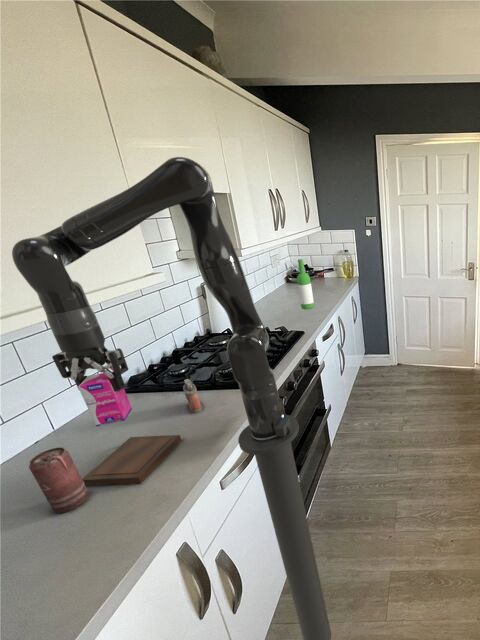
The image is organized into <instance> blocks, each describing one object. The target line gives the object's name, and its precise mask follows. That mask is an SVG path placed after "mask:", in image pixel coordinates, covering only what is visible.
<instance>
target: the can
mask: <svg viewBox="0 0 480 640" xmlns="http://www.w3.org/2000/svg"><path fill="white" fill-rule="evenodd" d="M28 463H29V465H28V469H29V471H30V472H31V474H32V476H33V478H34V479H35V481H36V483H37V485H38V486H39V488H40V490H41V491H42V494H43V495H44V497H45V499H46V501H47V502H48V504H49V505H50V508H51V509H52V512H54V513H57V514H64V513H68V512H70V511H74V510H75V509H77V508H79V507H80V506H82V505H84V503H85V502H87V500H88V498H89V495H90V492H89V490H88V487H87V486H85V484H84V482H83V480H82V479H83V477H82V476H81V474H80V472H79V470H78V468H77V466H76V464H75V462H74V460H73V457H72V456H71V454H70V452H69V451H68V450H67V449H65V448H64V447H54V448H50V449H48V450H45V451H42V452H40V453H39V454H37V455H35V456H34V457H32V458H31V459H30V461H29V462H28Z"/></svg>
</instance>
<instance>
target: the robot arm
mask: <svg viewBox="0 0 480 640" xmlns="http://www.w3.org/2000/svg"><path fill="white" fill-rule="evenodd" d="M178 205H179V207H180V209H181V211H182V214H183V216H184V217H185V221H186V223H187V226H188V229H189V234H190V240H191V245H192V250H193V256H194V259H195V262H196V265H197V268H198V270H199V273H200V276H201V278H202V280H203V283H204V285H205V287H206V288H207V290H208V291H209V293H210V294H211V295H212V297H213V298H214V299H215V300H216V302H217V303H218V304H219V305H220V307H222V309H223V310H224V311H225V314H226V315H227V319H228V320H229V323H230V327H231V330H232V336H231V338H230V339H229V341H228V343H227V346H226V355H227V360H228V362H229V366H230V368H231V372H232V375H233V379H234V380H235V381H236V382H237V383H238V387H239V390H240V395H241V399H242V402H243V406H244V410H245V414H246V418H247V422H248V425H249V426H250V429H251V435H252V438H253V439H254V440H256V441H261V442H263V441H269V440H272V439H275V438H277V437H281V436H286V435H288V434H290V433H291V428H290V426H291V424H290V420H289V418H286V415H287V414H286V410H285V404H284V399H283V398H280V395H279V391H278V387H277V381H276V377H275V372H274V370H273V368H272V367H270V364H269V360H268V357H267V351H268V348H269V345H270V336H269V334H268V331H267V329H266V327H265V326H264V323H263V321H262V320H261V317H260V316H259V313H258V311H257V309H256V307H255V303H254V300H253V297H252V293H251V290H250V287H249V285H248V281H247V278H246V275H245V272H244V269H243V266H242V263H241V260H240V258H239V256H238V253H237V250H236V248H235V246H234V244H233V241H232V239H231V237H230V235H229V233H228V231H227V229H226V227H225V225H224V222H223V220H222V218H221V214H220V211H219V207H218V204H217V199H216V196H215V191H214V186H213V181H212V178H211V176H210V173H209V172H208V171H207V170H206V169H205V167H204V166H202V165H201V164H200V163H198V162H197V161H195V160H194V159H191V158H188V157H185V156H174V157H170V158H168V159H167V160H166V161H164V162H162V164H161V165H159V166H158V167H157V168H155V170H153V171H152V172H150V173H149V174H148V175H147V176H145V177H144V178H143V179H141V180H140V181H138V182H137V183H135V184H133V185H132V186H130V187H129V188H127V189H126V190H123V191H122V192H120V193H118V194H116V195H114V196H111V197H109V198H107V199H105V200H102V201H100V202H98V203H96V204H94V205H93V206H91V207H88V208H86V209H84V210H82V211H80V212H78V213H76V214H75V215H73V216H71V217H69V218H67V219H65V221H63V222H62V224H61V225H60V226H58V227H56V228H54V229H52V230H49V231H47V232H45V233H43V234H41V235H40V234H39V235H38V236H33V237H32V236H31V237H28V238H23V239H21V240H18V241H17V242H16V243H15V244H14V245H13V246H12V248H11V258H12V261H13V263H14V266H15V267H16V270H17V271H18V272H19V273H20V275H21V276H22V277H23V279H24V280H25V281H26V282H27V284H28V285H29V286H30V288H32V290H33V291H34V292H35V293H36V295H37V296H38V300H39V302H40V304H41V307H42V308H43V311H44V313H45V316H46V319H47V323H48V326H49V327H50V330H51V332H52V334H53V337H54V339H55V341H56V343H57V345H58V347H59V349H60V352H57V353H56V354H53V355H52V361H53V362H54V364H55V366H56V368H57V370H58V373H59V374H60V376H61V377H62V379H67V378H69V379H70V380H72V381H74V383H75V385H76V387H77V389H78V390H79V388H78V386H79V385H80V384H81V383H82V382H83V381H84V380H85V379H86V377H87V376H88V375H86V372H87V370H89V369H90V370H96V371H98V372H99V373H100V374H101V373H104V374H106V375H107V376H108V377H109V380H110V383H111V385H112V387H113V390H114V391H115V392H116V391H120V390H121V389H123V388H124V389H125V385H126V383H125V381H124V379H123V376H122V375H123V374H125V373H126V372H128V370H129V367H128V363H127V361H126V358H125V355H124V352H123V350H122V348H116V349H112V350H111V349H108V348H107V347H106V346H105V342H106V338H105V336H104V333H103V331H102V328H101V325H100V323H99V321H98V318H97V315H96V314H95V312H94V310H93V308H92V307H91V305H90V303H89V300H88V298H87V294H86V293H85V290H84V287H83V286H82V284H81V283H80V282H78V281H76V280H73V279H72V278H71V276H70V274H69V272H68V271H67V268H66V267H67V266H69V265H71V264H73V263H74V262H76V261H78V260H80V259H81V258H82V257H83V258H84V256H85V255H87V254H88V253H90V252H92V251H94V250H96V249H98V248H102V247H103V246H106V245H107V244H108V243H111V242H112V241H114V240H116V239H118V238H120V237H122V236H123V235H125V234H127V233H128V232H130V231H132V230H133V229H134V228H136V227H137V226H139V225H140V224H142V223H143V222H145V221H146V220H147V219H148V218H150V217H152V216H154V215H156V214H158V213H160V212H162V211H165V210H167V209H169V208H171V207H174V206H178ZM105 364H106V365H105ZM112 371H114V372H112ZM287 431H288V432H287Z"/></svg>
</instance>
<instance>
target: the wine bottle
mask: <svg viewBox="0 0 480 640" xmlns="http://www.w3.org/2000/svg"><path fill="white" fill-rule="evenodd" d="M297 264H298V270H299V273H298V275H297V276H296V283H297V290H298V295H299V302H300V307H301V309H302V310H311V309H314V308H315V300H314V294H313V287H312V282H311V277H310V275H309V274H308V273H306V270H305V263H304V259H302V258H301V259H300V258H299V259H297Z"/></svg>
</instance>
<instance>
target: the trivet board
mask: <svg viewBox="0 0 480 640" xmlns="http://www.w3.org/2000/svg"><path fill="white" fill-rule="evenodd" d="M181 441H182V438H181V434H171V435H169V434H167V435H148V436H147V435H145V436H130V437H129V438H127V440H125V441H124V442H123V443H122V444H121V445H120V446H119V447H118V448H116V449H115V450H114V451H113V452H112V453H110V454H109V455H108V456H106V457H105V459H103V460H102V461H101V462H99V464H98V465H96V466H95V467H94V468H93V469H92V470H91V471H90V472H88V473H87V474H86V475H85V476H84V477H82V480H83V482H84V484H85V486H86V487H96V486H97V487H98V486H117V485H119V486H120V485H137V484H139V485H140V484H142V483H143V482H144V481H145V480H146V479H147V478H148V477H149V476H150V475H151V473H153V471H154V470H156V468H157V467H158V466H159V465H160V464H161V463H162V462H163V461H164V460H165V459H166V457H167V456H169V455H170V454H171V452H172V451H174V449H175V448H176V447H177V446H178V445H179V444H180V443H181Z"/></svg>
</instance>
